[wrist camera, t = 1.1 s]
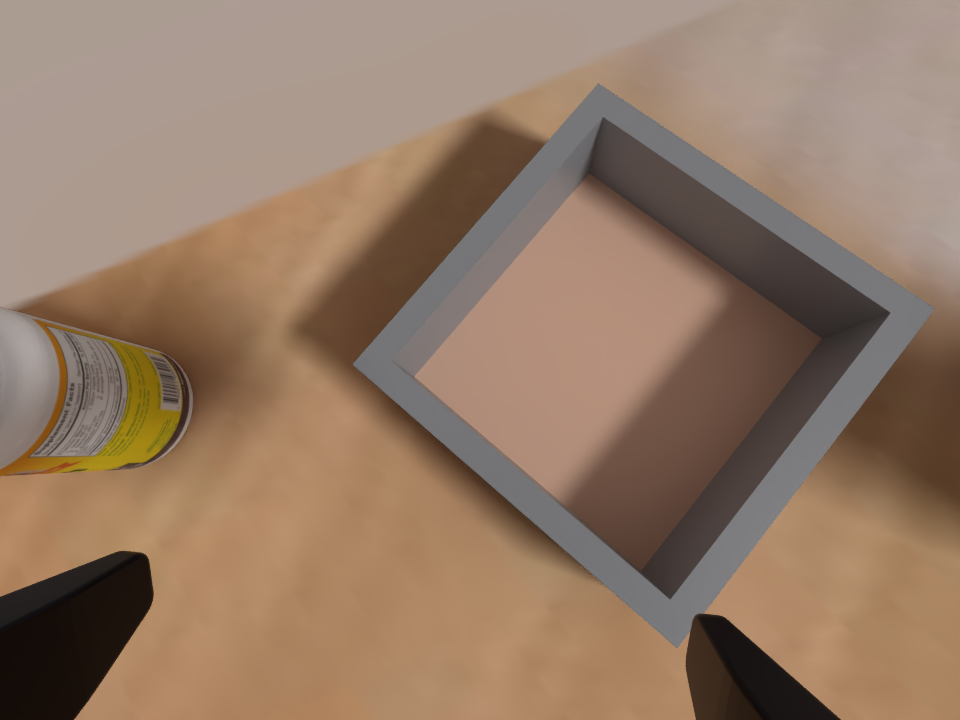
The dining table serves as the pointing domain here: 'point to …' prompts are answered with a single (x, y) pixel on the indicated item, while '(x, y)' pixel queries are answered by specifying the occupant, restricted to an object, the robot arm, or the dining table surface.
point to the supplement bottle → (84, 399)
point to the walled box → (643, 355)
